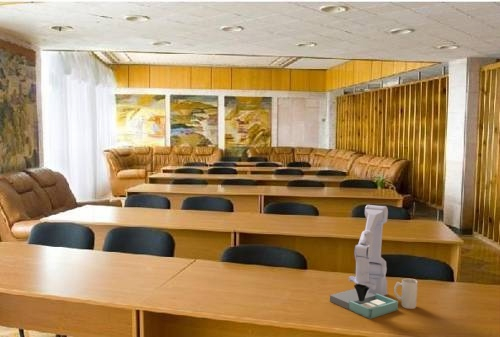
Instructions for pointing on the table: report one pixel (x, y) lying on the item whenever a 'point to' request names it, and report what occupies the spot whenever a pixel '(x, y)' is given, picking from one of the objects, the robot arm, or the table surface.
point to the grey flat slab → (350, 298)
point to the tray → (376, 311)
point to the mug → (407, 292)
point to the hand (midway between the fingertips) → (361, 300)
